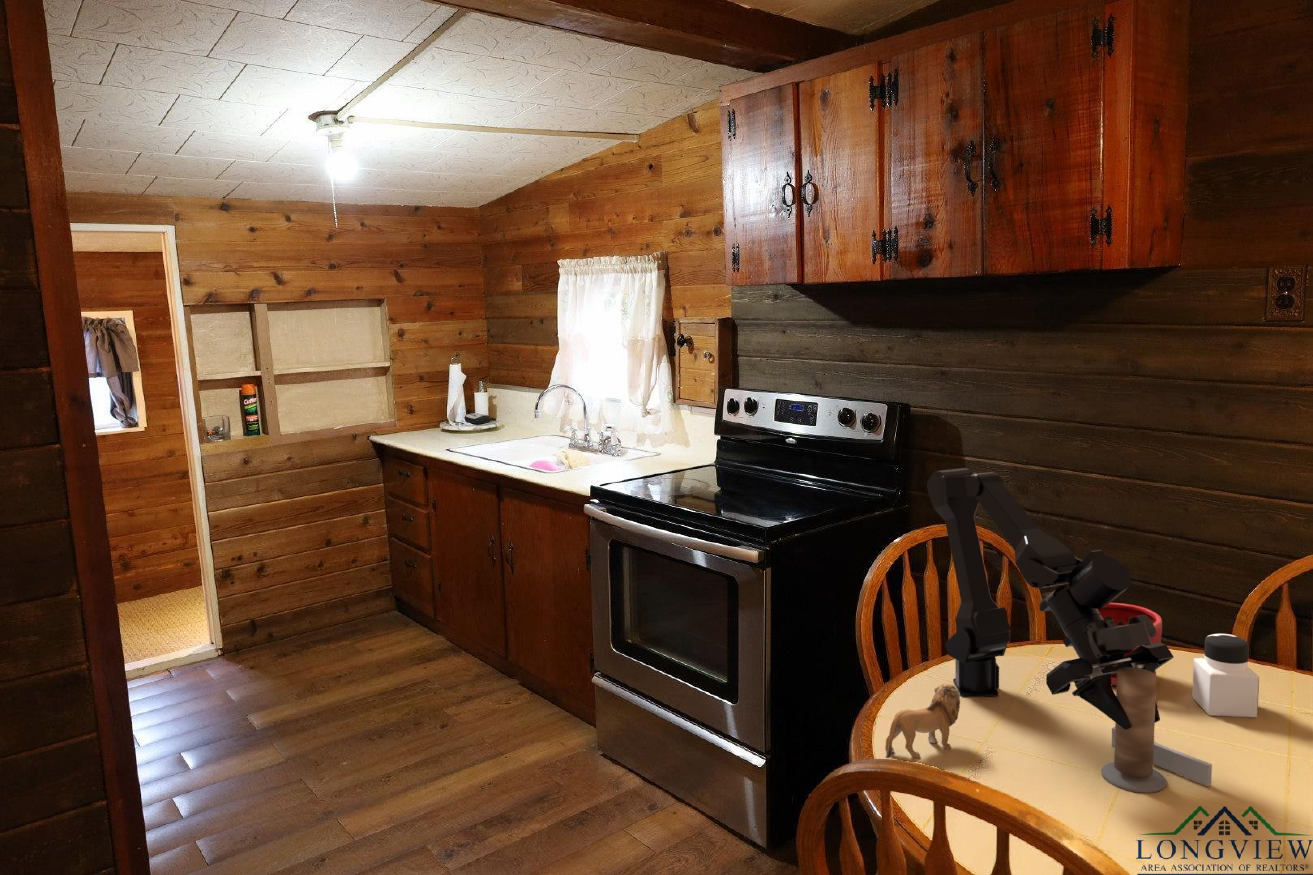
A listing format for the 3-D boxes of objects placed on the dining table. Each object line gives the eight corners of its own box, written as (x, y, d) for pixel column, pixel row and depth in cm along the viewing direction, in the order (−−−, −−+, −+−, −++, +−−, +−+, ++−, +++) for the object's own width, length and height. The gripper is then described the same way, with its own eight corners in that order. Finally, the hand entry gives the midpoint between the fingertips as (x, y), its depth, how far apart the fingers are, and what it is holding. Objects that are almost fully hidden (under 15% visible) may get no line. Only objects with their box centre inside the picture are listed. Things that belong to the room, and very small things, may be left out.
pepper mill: (1113, 772, 124) (1116, 677, 122) (1114, 757, 128) (1117, 664, 126) (1152, 780, 121) (1156, 683, 119) (1152, 764, 125) (1156, 670, 124)
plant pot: (1068, 663, 166) (1069, 601, 164) (1142, 664, 164) (1144, 601, 162) (1092, 692, 153) (1093, 625, 151) (1173, 693, 151) (1175, 626, 150)
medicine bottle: (1258, 718, 141) (1261, 646, 139) (1208, 716, 142) (1211, 644, 141) (1238, 699, 148) (1241, 630, 146) (1191, 697, 149) (1194, 629, 148)
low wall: (1111, 746, 134) (1112, 728, 133) (1114, 745, 134) (1115, 726, 134) (1207, 786, 122) (1208, 765, 121) (1211, 784, 122) (1211, 764, 122)
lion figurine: (942, 729, 142) (942, 676, 140) (969, 742, 137) (969, 687, 136) (874, 754, 134) (873, 698, 133) (900, 769, 130) (899, 711, 129)
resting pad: (1114, 791, 121) (1114, 789, 121) (1093, 763, 129) (1093, 760, 129) (1176, 793, 120) (1176, 791, 120) (1151, 764, 128) (1151, 762, 128)
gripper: (1062, 606, 122) (1126, 714, 113) (1164, 588, 128) (1233, 689, 119) (1020, 642, 130) (1077, 746, 122) (1118, 623, 137) (1179, 721, 128)
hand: (1143, 724), depth 122 cm, fingers closed on pepper mill, 5 cm apart
